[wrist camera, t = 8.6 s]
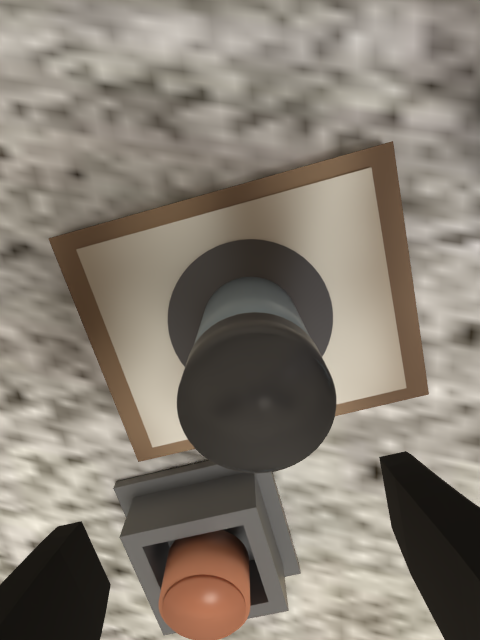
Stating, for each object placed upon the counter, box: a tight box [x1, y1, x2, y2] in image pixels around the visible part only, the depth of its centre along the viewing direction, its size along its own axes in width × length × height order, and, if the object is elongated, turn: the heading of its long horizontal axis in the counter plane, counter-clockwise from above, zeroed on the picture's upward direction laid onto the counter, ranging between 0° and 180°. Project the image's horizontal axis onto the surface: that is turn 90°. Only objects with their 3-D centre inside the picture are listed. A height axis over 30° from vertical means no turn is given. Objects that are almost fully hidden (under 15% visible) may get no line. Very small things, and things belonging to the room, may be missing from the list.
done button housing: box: [113, 460, 301, 635], centre depth 20 cm, size 8×8×3 cm
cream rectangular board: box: [48, 141, 429, 462], centre depth 18 cm, size 14×11×1 cm
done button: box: [159, 530, 250, 640], centre depth 18 cm, size 4×4×2 cm
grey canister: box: [177, 277, 336, 474], centre depth 14 cm, size 4×4×7 cm
